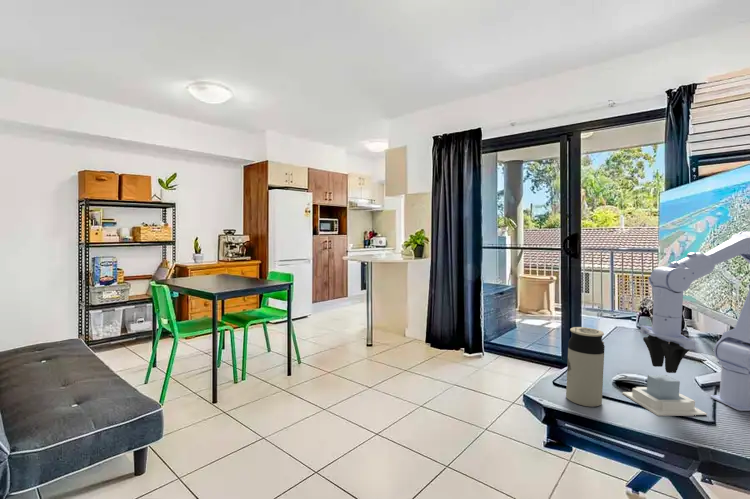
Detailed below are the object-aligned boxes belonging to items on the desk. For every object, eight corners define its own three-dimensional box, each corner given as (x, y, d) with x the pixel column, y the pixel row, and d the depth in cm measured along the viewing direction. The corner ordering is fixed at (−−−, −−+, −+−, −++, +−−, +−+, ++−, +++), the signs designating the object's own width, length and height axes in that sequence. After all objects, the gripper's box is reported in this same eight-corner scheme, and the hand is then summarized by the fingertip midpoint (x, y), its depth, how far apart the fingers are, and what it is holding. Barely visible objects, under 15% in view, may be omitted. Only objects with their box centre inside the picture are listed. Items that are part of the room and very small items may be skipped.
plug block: (665, 398, 97) (666, 375, 97) (678, 405, 93) (679, 381, 93) (646, 398, 97) (647, 375, 97) (658, 405, 93) (660, 381, 93)
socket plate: (665, 393, 101) (666, 384, 101) (706, 415, 89) (707, 405, 89) (622, 393, 101) (622, 384, 101) (657, 415, 89) (658, 405, 89)
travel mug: (603, 399, 97) (606, 330, 96) (599, 410, 91) (603, 336, 90) (569, 391, 102) (572, 325, 101) (563, 401, 96) (566, 330, 95)
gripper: (630, 309, 101) (628, 359, 102) (675, 322, 87) (672, 380, 87) (656, 309, 101) (653, 359, 102) (705, 322, 87) (701, 380, 88)
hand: (664, 369), depth 95 cm, fingers open, 4 cm apart
